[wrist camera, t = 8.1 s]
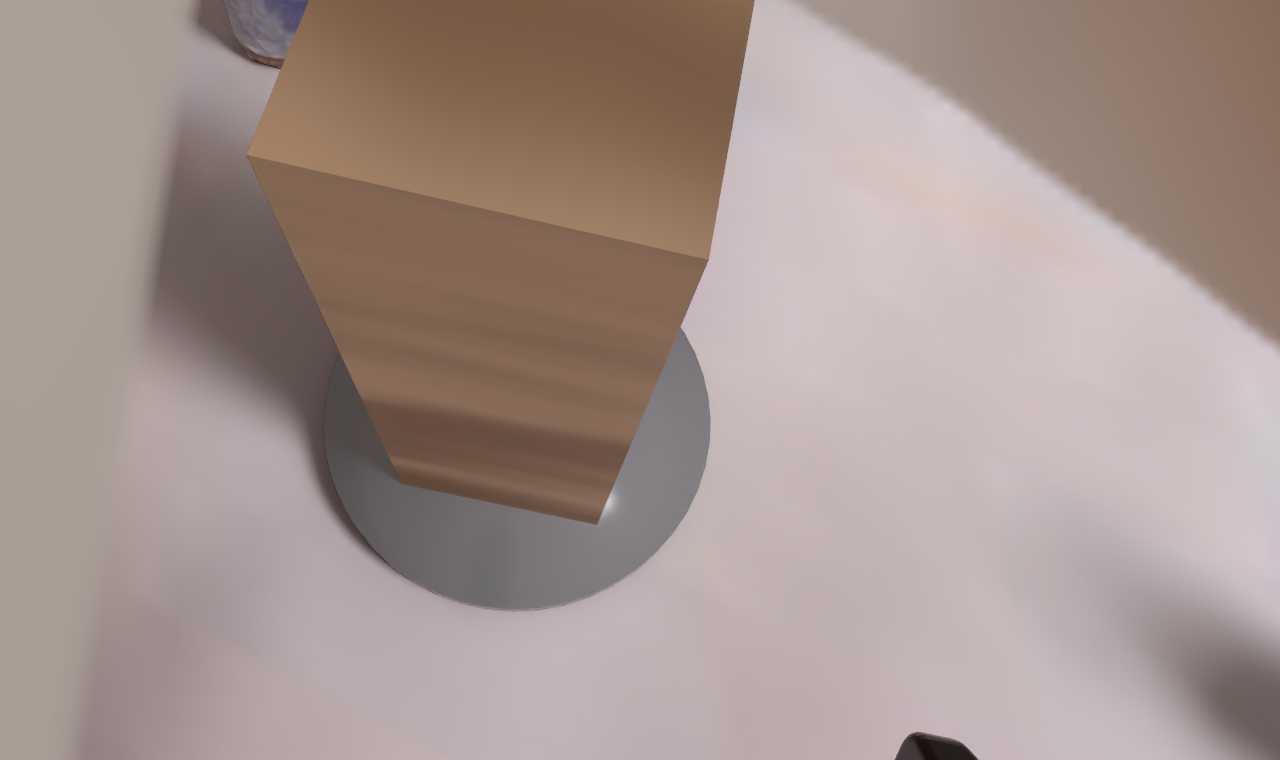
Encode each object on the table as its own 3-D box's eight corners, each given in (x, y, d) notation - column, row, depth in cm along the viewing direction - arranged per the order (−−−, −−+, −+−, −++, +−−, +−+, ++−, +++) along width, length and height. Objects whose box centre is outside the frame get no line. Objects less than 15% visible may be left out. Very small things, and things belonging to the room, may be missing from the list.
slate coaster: (469, 696, 20) (468, 695, 19) (255, 375, 22) (248, 366, 21) (778, 462, 23) (785, 456, 22) (564, 195, 25) (566, 183, 24)
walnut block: (596, 525, 21) (708, 259, 9) (402, 484, 21) (245, 154, 9) (633, 347, 23) (768, -80, 11) (452, 307, 22) (380, -177, 10)
